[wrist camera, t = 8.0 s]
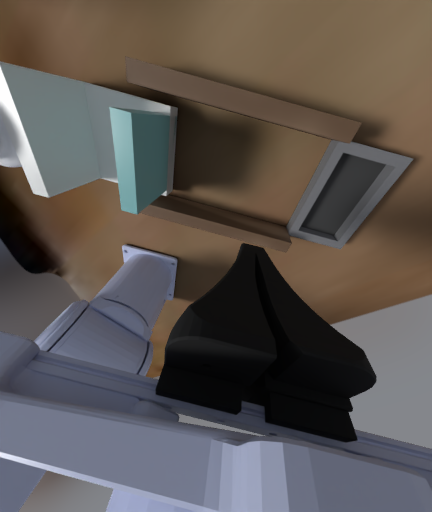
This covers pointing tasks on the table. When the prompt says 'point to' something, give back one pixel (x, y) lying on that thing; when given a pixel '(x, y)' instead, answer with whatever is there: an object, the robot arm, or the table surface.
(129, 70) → the channel
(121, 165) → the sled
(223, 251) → the table surface
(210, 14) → the table surface
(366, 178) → the tray
